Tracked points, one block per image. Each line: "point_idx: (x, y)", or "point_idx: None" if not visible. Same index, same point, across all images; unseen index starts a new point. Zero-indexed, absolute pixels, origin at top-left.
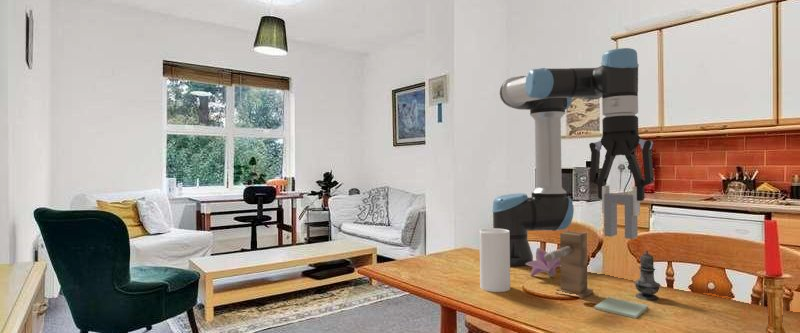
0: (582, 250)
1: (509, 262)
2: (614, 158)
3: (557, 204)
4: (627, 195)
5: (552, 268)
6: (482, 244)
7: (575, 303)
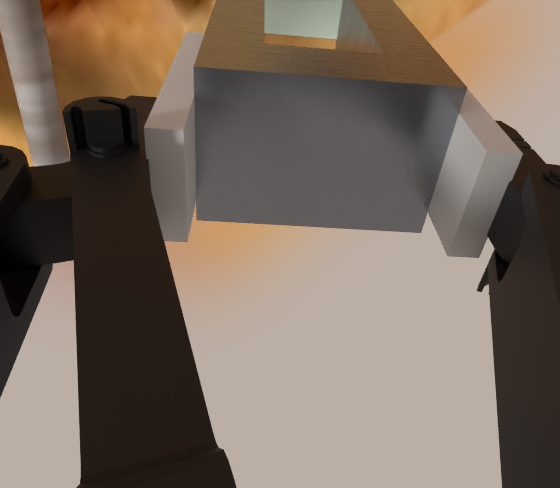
0: None
1: None
2: (225, 464)
3: None
4: (388, 227)
5: None
6: None
7: (147, 9)
